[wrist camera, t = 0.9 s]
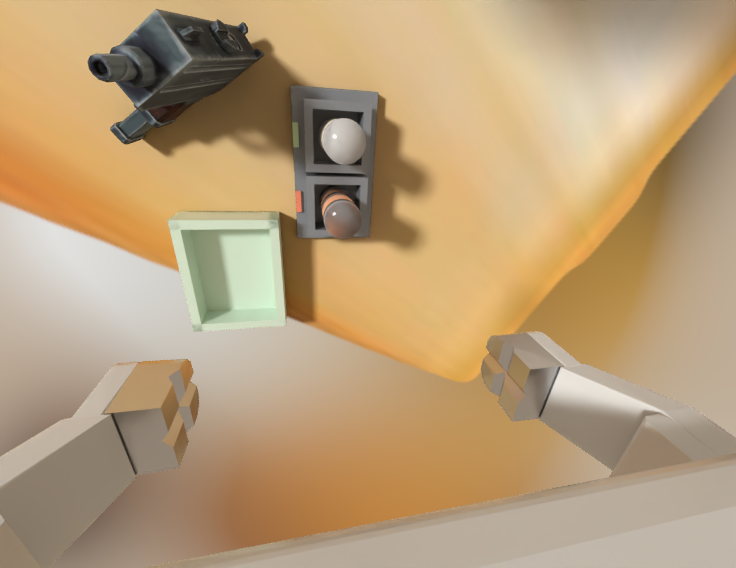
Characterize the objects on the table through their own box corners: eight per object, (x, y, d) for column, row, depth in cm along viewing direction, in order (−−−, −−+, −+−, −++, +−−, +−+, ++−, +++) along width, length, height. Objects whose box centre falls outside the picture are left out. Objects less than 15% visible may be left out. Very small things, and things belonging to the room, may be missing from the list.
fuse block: (290, 85, 33) (289, 82, 29) (376, 92, 34) (385, 90, 31) (297, 235, 40) (297, 246, 36) (367, 234, 42) (374, 245, 38)
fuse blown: (318, 185, 37) (324, 201, 30) (350, 185, 37) (362, 201, 30) (319, 216, 38) (324, 239, 31) (349, 216, 39) (361, 238, 32)
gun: (-32, 154, 19) (122, -12, 15) (138, 114, 33) (246, 21, 28) (14, 191, 21) (168, 50, 16) (159, 138, 34) (265, 53, 30)
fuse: (317, 116, 33) (323, 116, 26) (352, 118, 34) (366, 119, 27) (318, 154, 35) (323, 164, 28) (351, 155, 36) (364, 165, 29)
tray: (178, 211, 36) (167, 220, 33) (279, 211, 38) (278, 220, 35) (201, 315, 42) (193, 331, 39) (286, 310, 44) (285, 325, 41)
